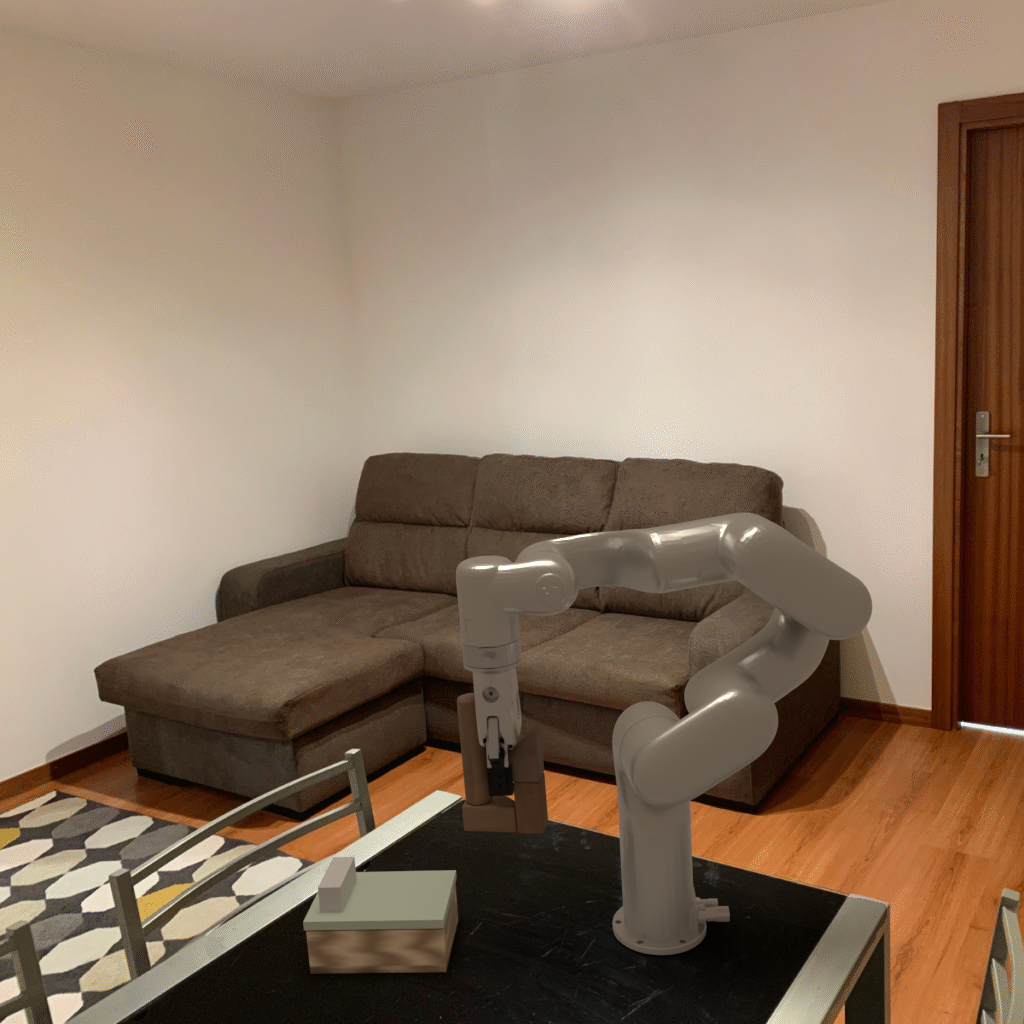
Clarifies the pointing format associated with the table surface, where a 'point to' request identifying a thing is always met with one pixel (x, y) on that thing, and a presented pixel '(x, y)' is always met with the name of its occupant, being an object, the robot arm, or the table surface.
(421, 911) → the lid
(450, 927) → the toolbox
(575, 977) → the table surface
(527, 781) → the wooden pieces
